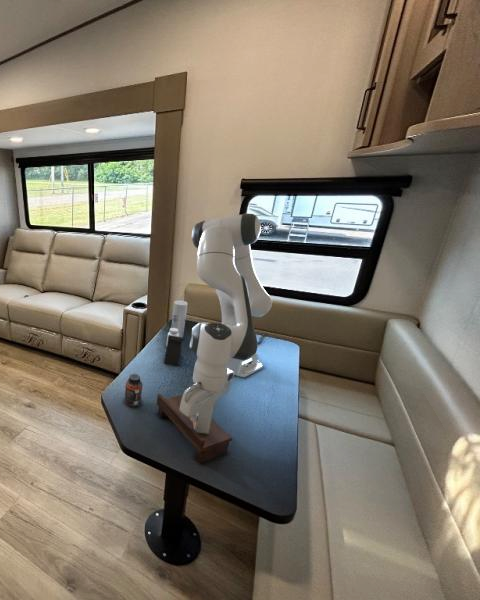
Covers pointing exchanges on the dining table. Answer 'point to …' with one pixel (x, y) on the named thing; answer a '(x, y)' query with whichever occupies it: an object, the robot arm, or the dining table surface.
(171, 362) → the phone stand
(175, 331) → the supplement bottle
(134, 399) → the supplement bottle
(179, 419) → the dark wooden riser
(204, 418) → the cosmetic box
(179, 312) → the spray can
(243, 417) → the dining table surface
